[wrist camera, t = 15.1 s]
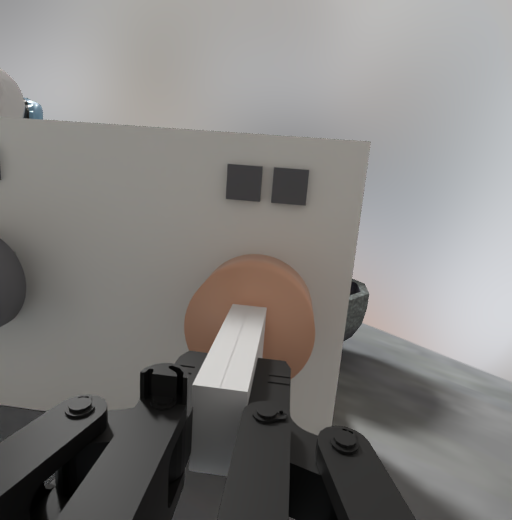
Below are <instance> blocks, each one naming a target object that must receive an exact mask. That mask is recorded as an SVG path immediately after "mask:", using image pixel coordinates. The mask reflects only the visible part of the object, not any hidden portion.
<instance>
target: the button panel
mask: <svg viewBox="0 0 512 520" xmlns="http://www.w3.org/2000/svg"><path fill="white" fill-rule="evenodd" d="M370 143H371V142H369V141H354V140H339V139H324V138H309V137H294V136H280V135H264V134H250V133H235V132H220V131H204V130H190V129H176V128H160V127H146V126H130V125H116V124H101V123H85V122H70V121H57V120H42V119H27V118H12V117H0V239H2V240H3V241H4V242H5V243H6V244H7V245H8V246H9V247H10V248H11V249H12V250H13V251H16V256H17V257H18V259H19V261H20V263H21V265H22V268H23V271H24V274H25V278H26V297H25V301H24V304H23V306H22V309H21V310H20V312H19V313H18V315H17V316H16V317H15V318H14V319H13V320H11V321H10V322H9V323H7V324H5V325H3V326H1V327H0V405H4V406H11V407H19V408H26V409H33V410H40V411H48V410H50V409H51V408H53V407H54V406H56V405H57V404H59V403H60V402H62V401H64V400H66V399H68V398H71V397H75V396H78V395H89V394H90V395H96V396H100V397H102V398H103V399H105V401H106V402H107V410H117V409H127V408H133V407H135V405H136V404H137V402H138V401H139V400H140V372H141V371H142V370H143V369H144V368H146V367H148V366H151V365H154V364H159V363H173V364H175V362H176V361H177V359H178V358H179V356H181V355H183V354H184V353H186V352H188V351H189V349H188V346H187V343H186V339H185V333H184V321H185V314H186V310H187V307H188V305H189V302H190V300H191V299H192V297H193V295H194V294H195V292H196V291H197V290H198V289H199V287H200V286H201V285H202V284H203V283H204V282H205V281H206V279H207V278H208V277H209V276H210V275H211V274H212V273H213V272H214V271H215V270H216V269H217V268H218V267H219V266H220V265H222V264H223V263H224V262H226V261H228V260H230V259H232V258H235V257H238V256H242V255H248V254H261V255H267V256H271V257H274V258H277V259H279V260H281V261H283V262H285V263H286V264H288V265H289V266H291V267H292V268H293V269H294V270H295V271H296V272H297V273H298V274H299V275H300V276H301V278H302V279H303V280H304V282H305V284H306V286H307V287H308V290H309V293H310V296H311V300H312V307H313V315H314V324H315V341H314V347H313V350H312V353H311V355H310V357H309V359H308V361H307V363H306V364H305V366H304V367H303V369H302V370H301V371H300V372H299V373H298V374H297V375H296V376H295V377H293V378H292V379H291V385H290V386H291V387H290V416H291V418H292V420H293V421H294V422H295V423H296V424H297V425H298V426H299V427H300V428H302V429H303V430H306V431H308V432H310V433H312V434H315V435H318V434H319V432H320V431H321V430H323V429H324V428H326V427H331V426H332V421H333V413H334V406H335V399H336V391H337V384H338V377H339V369H340V362H341V355H342V348H343V340H344V333H345V326H346V318H347V311H348V304H349V297H350V289H351V282H352V275H353V267H354V260H355V253H356V245H357V238H358V231H359V223H360V216H361V208H362V201H363V194H364V187H365V180H366V173H367V165H368V158H369V150H370Z"/></svg>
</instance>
